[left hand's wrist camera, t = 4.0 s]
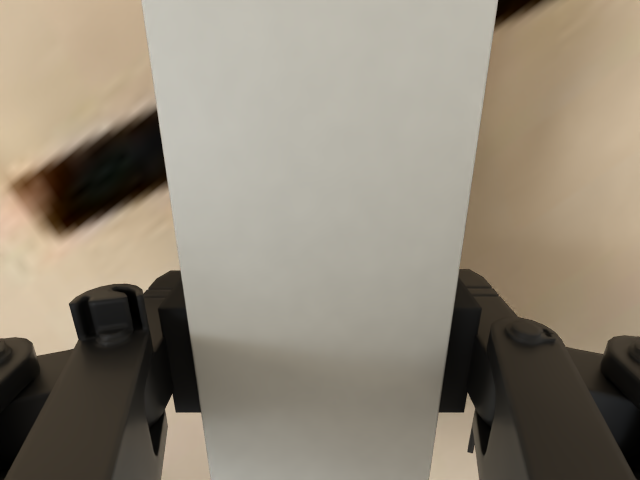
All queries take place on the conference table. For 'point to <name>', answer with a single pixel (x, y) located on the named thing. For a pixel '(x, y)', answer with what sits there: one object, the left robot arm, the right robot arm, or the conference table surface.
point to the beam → (319, 220)
